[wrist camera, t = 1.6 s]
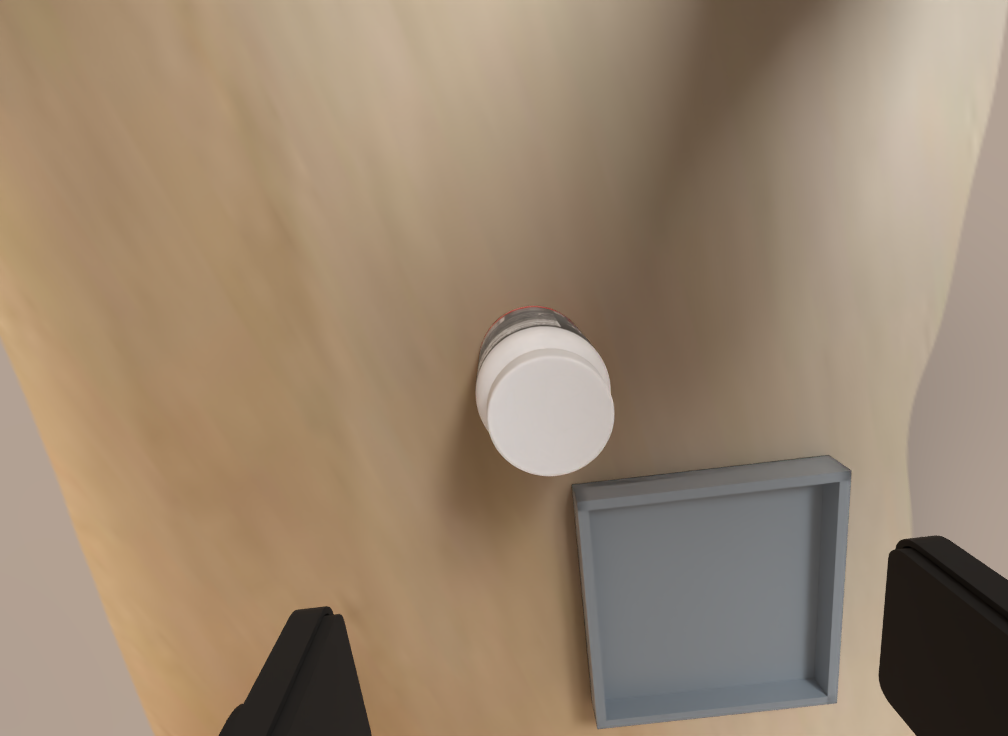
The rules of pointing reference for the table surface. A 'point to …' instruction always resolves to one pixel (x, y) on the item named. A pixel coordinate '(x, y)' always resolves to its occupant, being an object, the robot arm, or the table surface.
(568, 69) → the table surface
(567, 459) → the pill bottle
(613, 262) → the table surface
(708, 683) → the slate tray
